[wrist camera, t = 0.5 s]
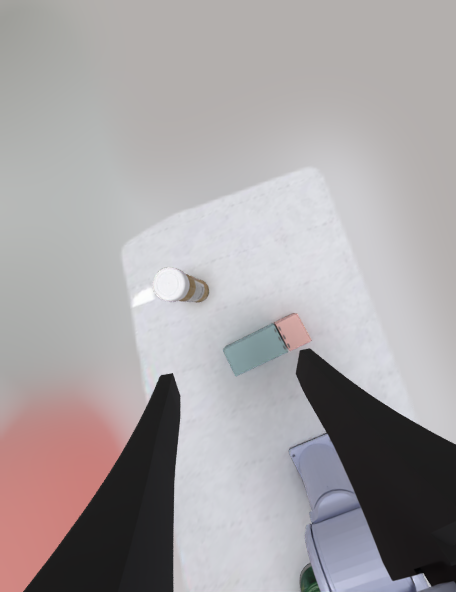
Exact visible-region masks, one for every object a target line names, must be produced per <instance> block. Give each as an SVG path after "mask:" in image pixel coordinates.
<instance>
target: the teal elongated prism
mask: <svg viewBox="0 0 456 592" xmlns="http://www.w3.org/2000/svg"><path fill="white" fill-rule="evenodd" d="M223 352H224V354H225V356H226V358H227V360H228V362H229V364H230V366H231V368H232V370H233V372H234V374H235V376H238V375H240V374H242V373H244V372H247V371H249V370H251V369H253V368H255V367H257V366H259V365H261V364H263V363H266V362H268V361H270V360H272V359H274V358H276V357H278V356H280V355H282V354H285V353H287V352H288V350H287V349H286V347H285V345H284V343H283V341H282V339H281V337H280V335H279V333H278V332H277V330H276V328H275V326H274V324H273V323H272V324H270V325H268V326H266V327H264V328H262V329H260V330H258V331H256V332H254V333H252V334H250V335H248V336H246V337H244V338H242V339H240V340H238V341H236V342H234V343H232V344H230V345H228V346H226V347H225V348H224V349H223Z"/></svg>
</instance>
